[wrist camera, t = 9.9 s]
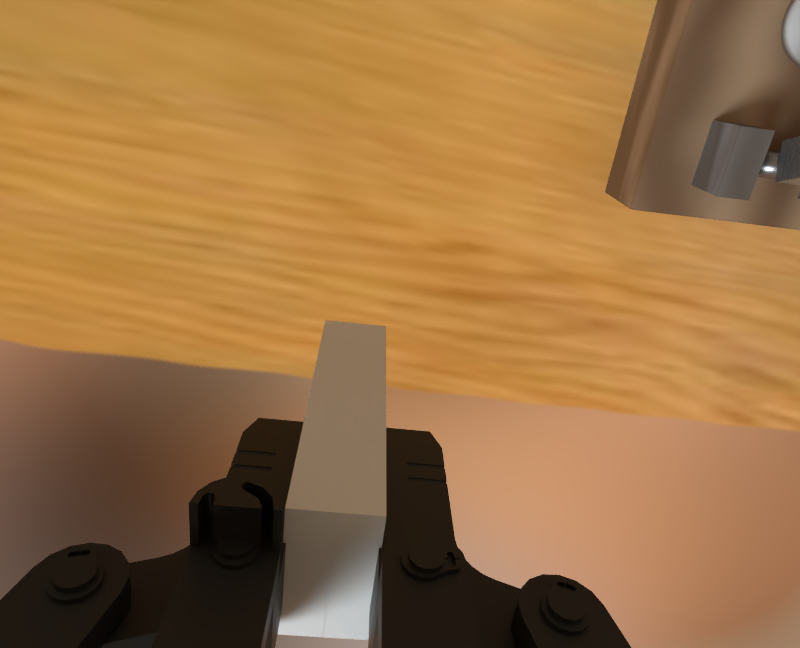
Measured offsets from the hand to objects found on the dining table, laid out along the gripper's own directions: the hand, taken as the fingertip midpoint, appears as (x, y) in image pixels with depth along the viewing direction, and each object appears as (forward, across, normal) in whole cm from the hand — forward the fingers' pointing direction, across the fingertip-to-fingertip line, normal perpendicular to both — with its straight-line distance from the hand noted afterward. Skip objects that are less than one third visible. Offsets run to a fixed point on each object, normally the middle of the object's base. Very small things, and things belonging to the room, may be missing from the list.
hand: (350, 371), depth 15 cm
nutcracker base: (+29, +25, +7) cm, 39 cm away
